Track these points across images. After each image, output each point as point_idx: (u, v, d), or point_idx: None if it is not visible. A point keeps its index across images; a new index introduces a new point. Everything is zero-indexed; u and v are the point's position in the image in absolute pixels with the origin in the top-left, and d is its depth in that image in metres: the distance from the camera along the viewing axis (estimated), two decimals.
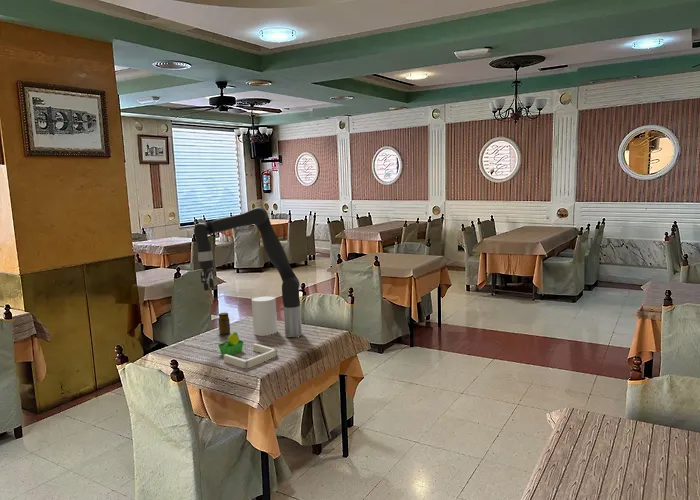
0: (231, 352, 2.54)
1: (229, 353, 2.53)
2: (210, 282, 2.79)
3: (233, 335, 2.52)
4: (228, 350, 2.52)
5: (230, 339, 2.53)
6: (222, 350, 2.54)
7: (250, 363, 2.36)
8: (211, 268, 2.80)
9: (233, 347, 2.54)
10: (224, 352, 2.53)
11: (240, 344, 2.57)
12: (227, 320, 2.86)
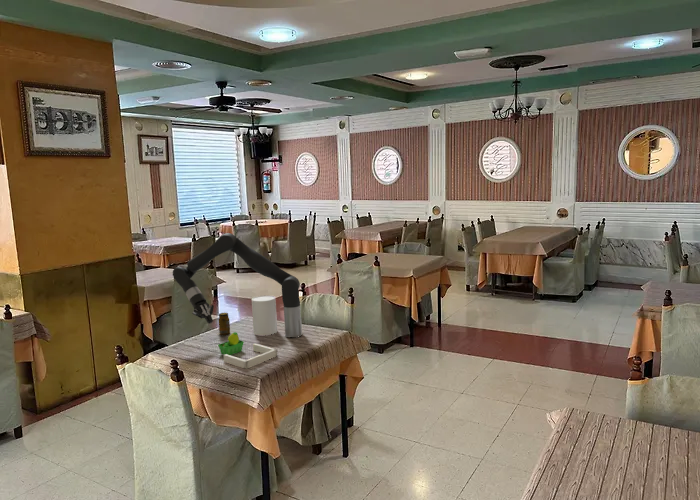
0: (231, 352, 2.54)
1: (229, 353, 2.53)
2: None
3: (233, 335, 2.52)
4: (228, 350, 2.52)
5: (230, 339, 2.53)
6: (222, 350, 2.54)
7: (250, 363, 2.36)
8: (212, 305, 2.73)
9: (233, 347, 2.54)
10: (224, 352, 2.53)
11: (240, 344, 2.57)
12: (227, 320, 2.86)
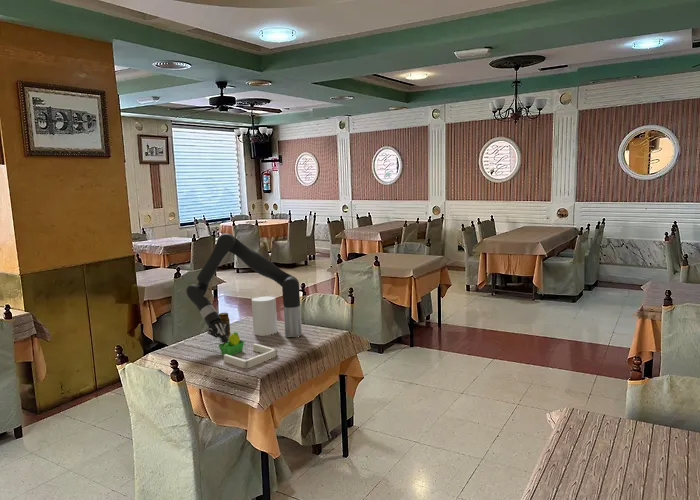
0: (231, 352, 2.53)
1: (229, 353, 2.53)
2: None
3: (233, 335, 2.52)
4: (228, 350, 2.51)
5: (230, 340, 2.52)
6: (222, 350, 2.53)
7: (250, 363, 2.36)
8: None
9: (233, 347, 2.53)
10: (224, 352, 2.53)
11: (240, 344, 2.57)
12: (227, 320, 2.86)
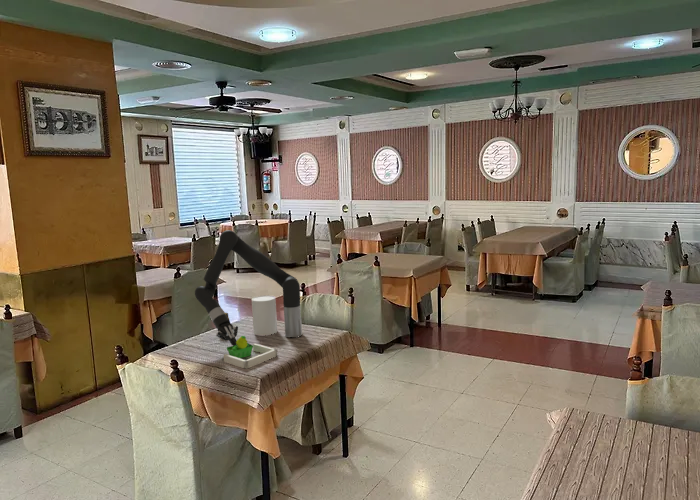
0: (239, 356, 2.47)
1: None
2: None
3: (241, 339, 2.46)
4: (235, 354, 2.46)
5: (237, 343, 2.46)
6: (230, 353, 2.48)
7: (250, 363, 2.36)
8: (236, 327, 2.61)
9: (241, 351, 2.47)
10: (232, 355, 2.47)
11: (249, 348, 2.50)
12: None
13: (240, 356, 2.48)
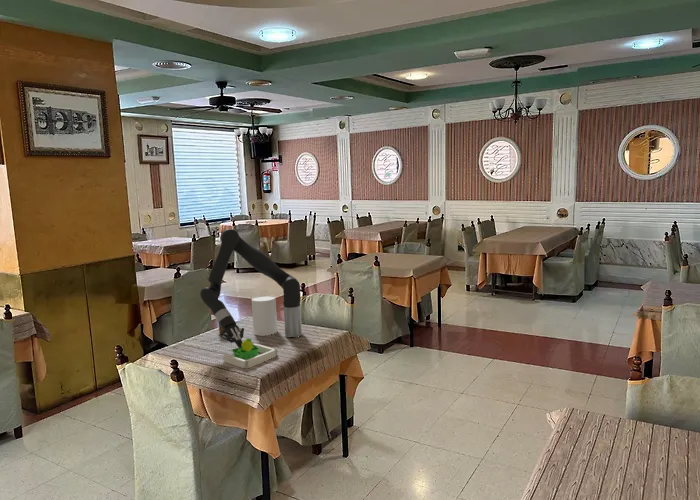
0: (244, 358, 2.44)
1: None
2: None
3: (246, 341, 2.42)
4: (240, 356, 2.42)
5: (243, 346, 2.43)
6: (235, 355, 2.45)
7: (250, 363, 2.36)
8: (242, 328, 2.58)
9: (246, 354, 2.43)
10: None
11: (254, 351, 2.46)
12: None
13: (245, 359, 2.44)
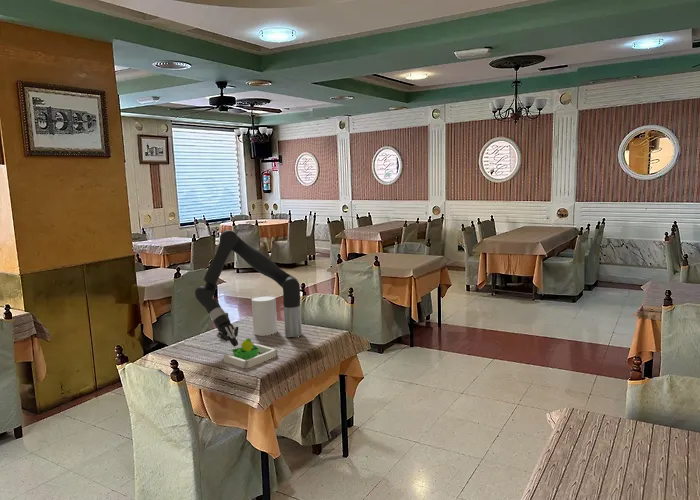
0: (244, 359, 2.44)
1: None
2: None
3: (246, 341, 2.42)
4: (240, 356, 2.42)
5: (242, 346, 2.43)
6: (235, 356, 2.45)
7: (250, 363, 2.36)
8: (236, 327, 2.60)
9: (246, 354, 2.43)
10: None
11: (254, 351, 2.46)
12: None
13: (245, 359, 2.44)
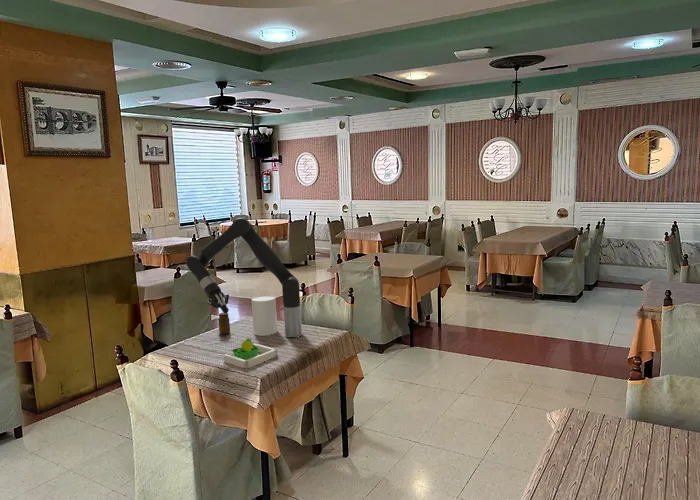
0: (244, 359, 2.44)
1: None
2: None
3: (246, 341, 2.42)
4: (240, 356, 2.42)
5: (242, 346, 2.43)
6: (235, 356, 2.45)
7: (250, 363, 2.36)
8: (227, 295, 2.64)
9: (246, 354, 2.43)
10: None
11: (254, 351, 2.46)
12: (227, 320, 2.86)
13: (245, 359, 2.44)
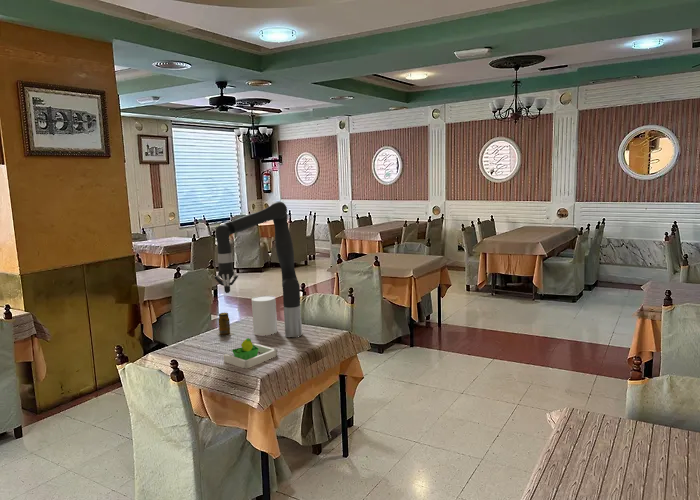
0: (244, 359, 2.44)
1: None
2: None
3: (246, 341, 2.42)
4: (240, 356, 2.42)
5: (242, 346, 2.43)
6: (235, 356, 2.45)
7: (250, 363, 2.36)
8: (237, 275, 2.71)
9: (246, 354, 2.43)
10: None
11: (254, 351, 2.46)
12: (227, 320, 2.86)
13: (245, 359, 2.44)
